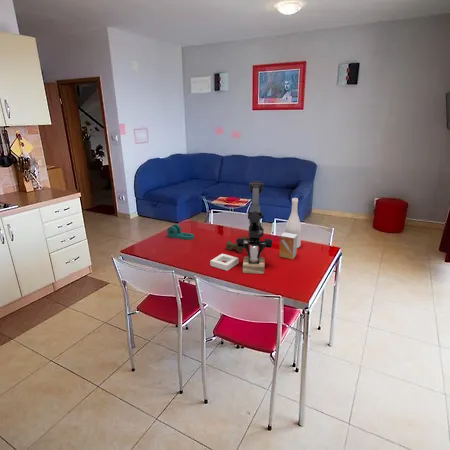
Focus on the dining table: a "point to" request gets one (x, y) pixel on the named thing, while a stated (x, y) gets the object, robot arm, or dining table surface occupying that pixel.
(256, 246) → the grey peg
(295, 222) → the wine bottle
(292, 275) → the dining table surface
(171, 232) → the bracket
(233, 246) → the brown bone-shaped piece
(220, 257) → the white square frame
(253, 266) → the socket block
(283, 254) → the small box
